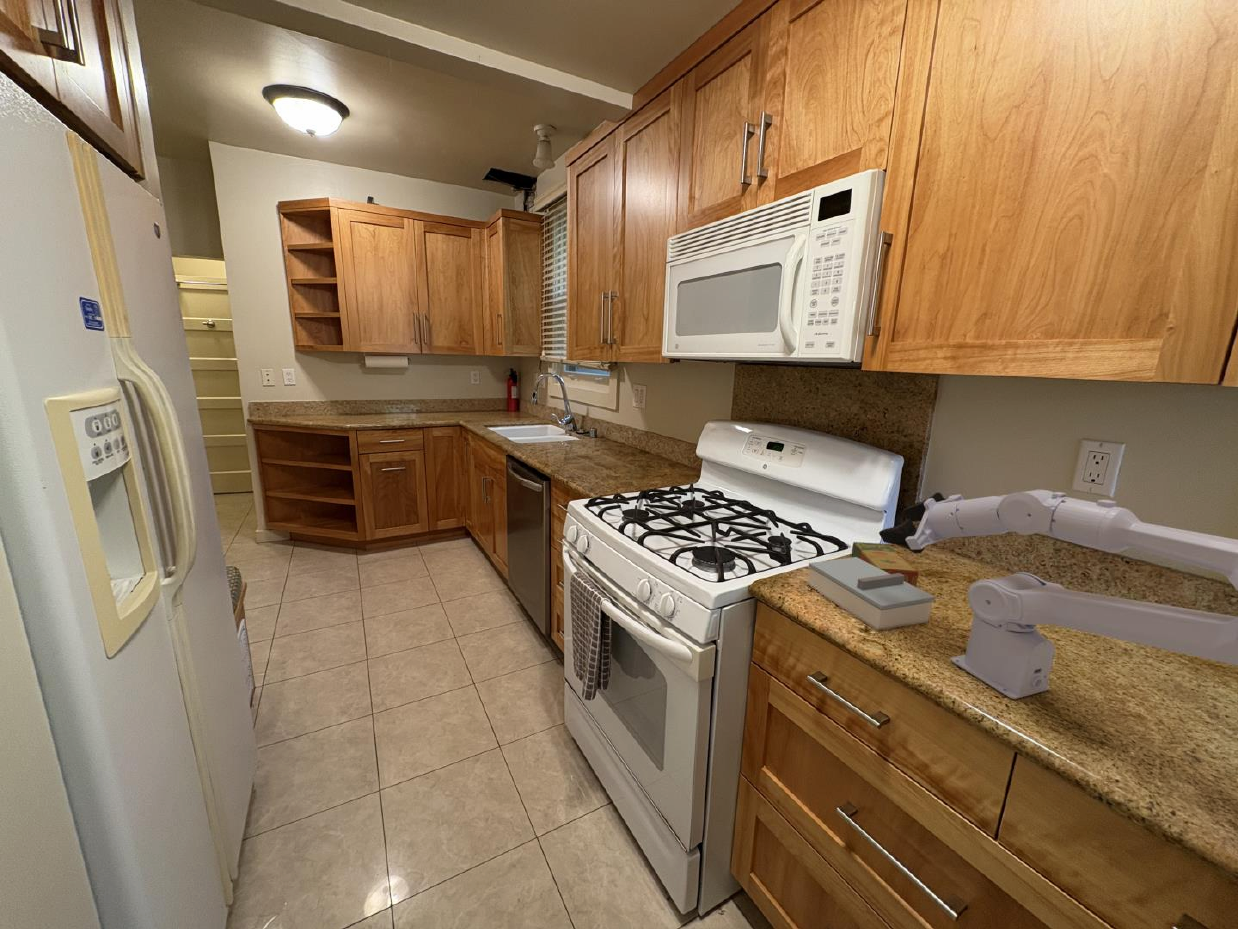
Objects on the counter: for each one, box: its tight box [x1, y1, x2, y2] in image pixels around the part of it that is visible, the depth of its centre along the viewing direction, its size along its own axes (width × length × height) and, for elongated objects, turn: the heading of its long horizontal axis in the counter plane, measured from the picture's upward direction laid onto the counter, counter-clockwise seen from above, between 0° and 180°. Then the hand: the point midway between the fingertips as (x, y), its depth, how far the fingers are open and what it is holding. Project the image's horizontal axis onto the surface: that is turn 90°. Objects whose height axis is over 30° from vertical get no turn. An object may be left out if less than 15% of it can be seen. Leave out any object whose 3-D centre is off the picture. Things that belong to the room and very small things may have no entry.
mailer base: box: [807, 567, 933, 632], centre depth 94 cm, size 18×12×4 cm, turn 19°
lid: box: [808, 557, 936, 610], centre depth 94 cm, size 18×12×2 cm
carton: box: [850, 541, 920, 588], centre depth 110 cm, size 8×16×4 cm, turn 173°
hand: (894, 525), depth 89 cm, fingers open, 7 cm apart
